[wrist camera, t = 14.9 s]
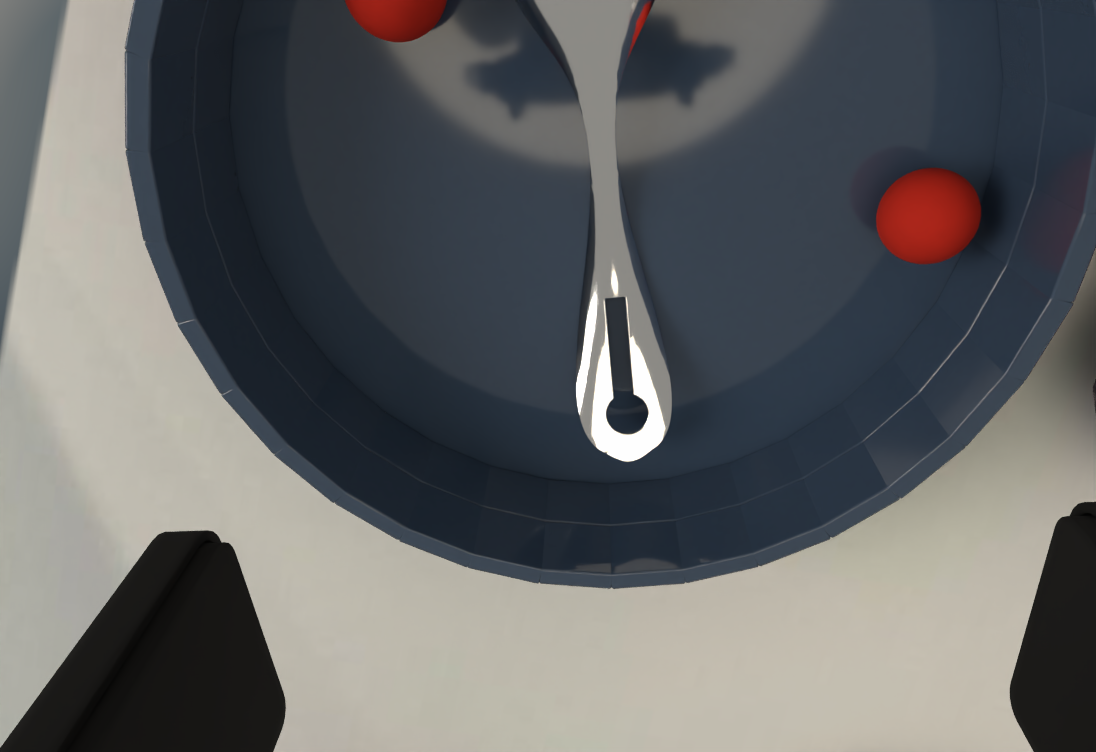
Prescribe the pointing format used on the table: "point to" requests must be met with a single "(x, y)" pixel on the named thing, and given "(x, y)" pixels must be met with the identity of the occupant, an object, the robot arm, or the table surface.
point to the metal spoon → (607, 221)
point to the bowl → (560, 251)
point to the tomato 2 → (928, 215)
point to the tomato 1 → (397, 17)
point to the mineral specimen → (1095, 390)
